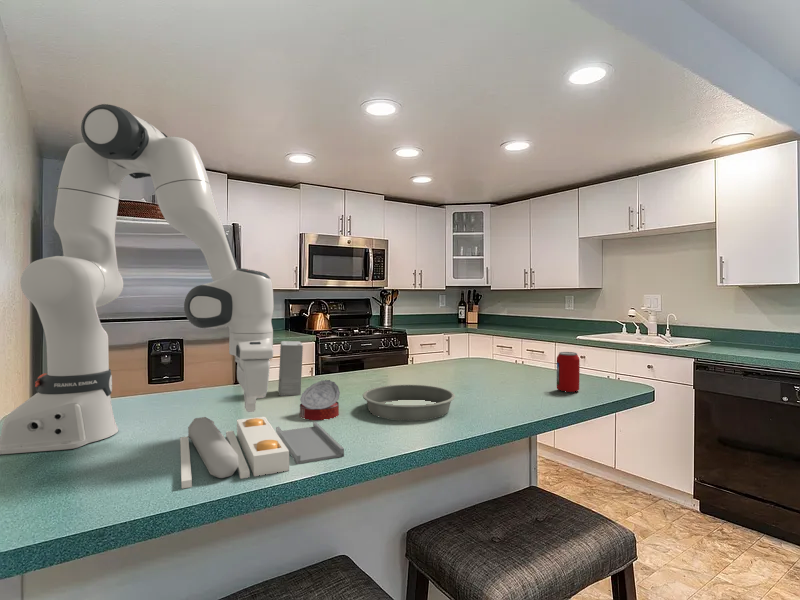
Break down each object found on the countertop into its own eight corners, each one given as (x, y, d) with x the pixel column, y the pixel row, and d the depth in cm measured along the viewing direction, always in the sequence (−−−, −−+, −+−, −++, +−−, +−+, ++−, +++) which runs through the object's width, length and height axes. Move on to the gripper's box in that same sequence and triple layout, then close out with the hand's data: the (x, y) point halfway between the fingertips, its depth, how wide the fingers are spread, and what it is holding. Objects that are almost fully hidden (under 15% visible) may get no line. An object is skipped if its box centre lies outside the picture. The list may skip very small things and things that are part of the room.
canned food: (339, 432, 120) (353, 401, 117) (306, 436, 113) (319, 403, 110) (320, 404, 128) (333, 374, 125) (287, 406, 121) (300, 375, 118)
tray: (297, 464, 86) (297, 455, 86) (276, 433, 104) (276, 427, 104) (344, 456, 89) (343, 448, 89) (315, 428, 107) (315, 422, 107)
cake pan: (347, 418, 116) (347, 400, 116) (380, 397, 140) (380, 382, 140) (444, 427, 109) (444, 408, 109) (462, 402, 133) (462, 387, 133)
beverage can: (564, 387, 151) (564, 351, 151) (583, 391, 146) (583, 353, 146) (552, 390, 147) (552, 352, 147) (572, 394, 142) (572, 355, 141)
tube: (247, 454, 80) (217, 418, 101) (215, 449, 77) (192, 414, 98) (237, 485, 79) (209, 443, 100) (205, 482, 77) (183, 439, 98)
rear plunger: (246, 440, 97) (246, 424, 97) (244, 435, 100) (244, 419, 100) (264, 438, 99) (264, 421, 99) (261, 433, 102) (261, 417, 102)
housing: (181, 488, 75) (181, 467, 75) (180, 442, 97) (180, 426, 97) (289, 470, 82) (289, 450, 82) (265, 431, 105) (264, 416, 105)
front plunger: (258, 466, 83) (258, 447, 83) (255, 460, 86) (255, 441, 86) (279, 463, 84) (279, 444, 84) (275, 457, 88) (275, 438, 87)
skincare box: (278, 390, 148) (277, 341, 147) (301, 389, 150) (300, 340, 150) (279, 396, 140) (279, 344, 139) (303, 395, 142) (303, 343, 142)
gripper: (230, 340, 107) (229, 400, 107) (241, 352, 89) (239, 424, 89) (259, 340, 110) (258, 398, 110) (275, 351, 91) (273, 421, 91)
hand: (249, 410), depth 99 cm, fingers closed
